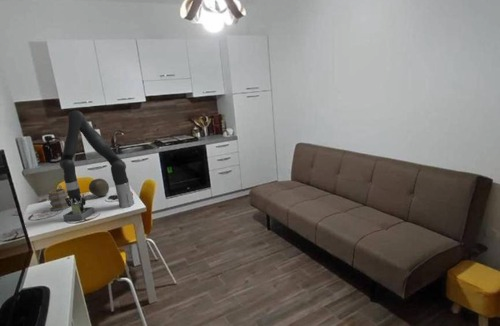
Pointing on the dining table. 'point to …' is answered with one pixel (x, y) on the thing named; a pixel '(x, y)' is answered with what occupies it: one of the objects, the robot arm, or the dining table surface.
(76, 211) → the olive block
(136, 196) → the dining table surface
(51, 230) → the dining table surface
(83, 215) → the bin
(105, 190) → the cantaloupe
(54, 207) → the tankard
